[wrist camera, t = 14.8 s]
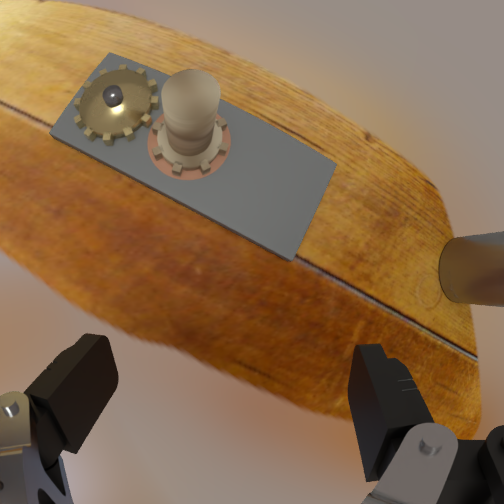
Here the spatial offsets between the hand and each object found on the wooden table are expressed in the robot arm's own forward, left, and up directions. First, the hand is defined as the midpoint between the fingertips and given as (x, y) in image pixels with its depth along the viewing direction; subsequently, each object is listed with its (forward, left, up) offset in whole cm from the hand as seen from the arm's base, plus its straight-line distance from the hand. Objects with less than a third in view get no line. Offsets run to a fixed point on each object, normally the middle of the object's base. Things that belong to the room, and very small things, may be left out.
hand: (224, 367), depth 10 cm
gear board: (-6, -15, -23) cm, 28 cm away
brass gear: (-1, -23, -22) cm, 31 cm away
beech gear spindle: (-6, -15, -21) cm, 27 cm away
